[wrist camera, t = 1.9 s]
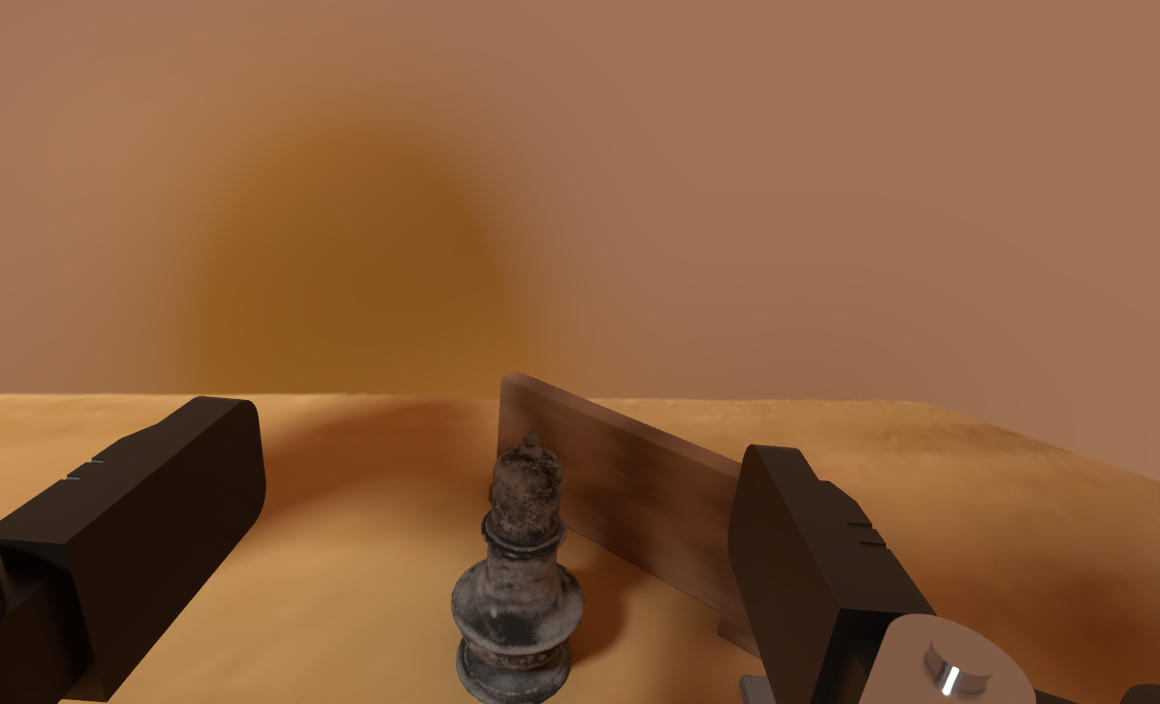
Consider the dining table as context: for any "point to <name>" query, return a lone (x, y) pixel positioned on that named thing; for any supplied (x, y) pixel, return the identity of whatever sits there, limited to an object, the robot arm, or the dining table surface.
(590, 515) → the walnut screen
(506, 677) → the dark metal turned piece
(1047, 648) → the dining table surface
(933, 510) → the dining table surface
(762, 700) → the dark mat
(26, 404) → the dining table surface
